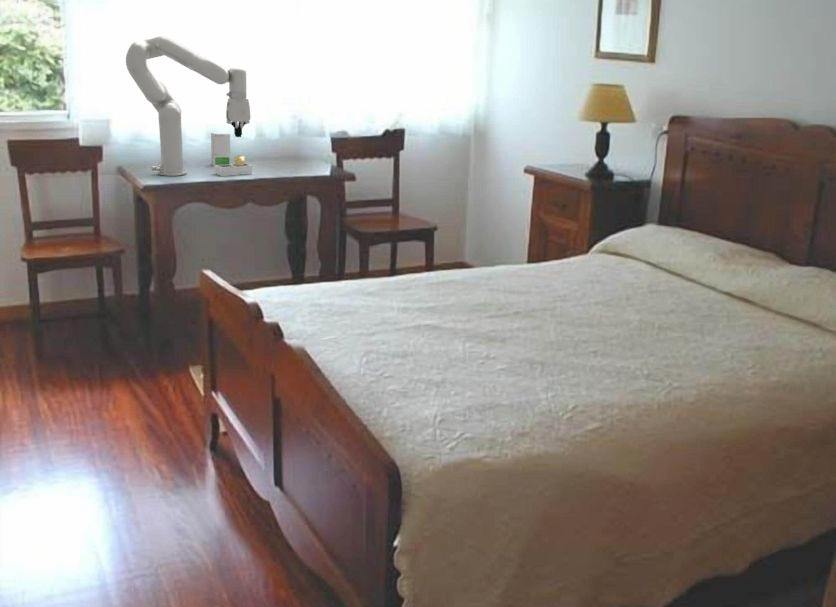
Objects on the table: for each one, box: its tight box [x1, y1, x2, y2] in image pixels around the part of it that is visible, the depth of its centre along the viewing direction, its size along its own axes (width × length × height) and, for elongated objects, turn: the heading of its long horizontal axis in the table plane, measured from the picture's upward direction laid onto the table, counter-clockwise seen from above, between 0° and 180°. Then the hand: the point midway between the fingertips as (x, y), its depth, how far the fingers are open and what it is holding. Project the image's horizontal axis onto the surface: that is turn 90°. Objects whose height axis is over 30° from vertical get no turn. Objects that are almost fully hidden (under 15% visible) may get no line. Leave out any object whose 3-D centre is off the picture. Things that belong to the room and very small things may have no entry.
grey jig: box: [213, 163, 253, 177], centre depth 426 cm, size 15×8×4 cm, turn 124°
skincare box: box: [210, 132, 231, 167], centre depth 449 cm, size 8×7×16 cm
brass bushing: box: [234, 155, 246, 166], centre depth 428 cm, size 4×4×8 cm
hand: (238, 136), depth 424 cm, fingers closed
